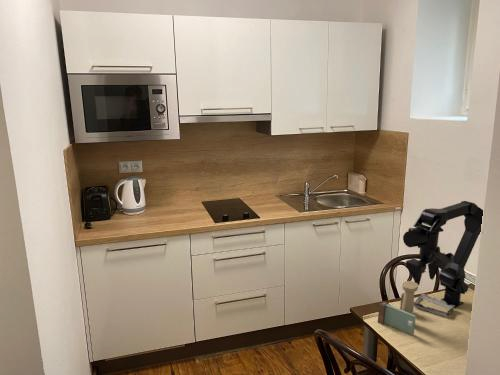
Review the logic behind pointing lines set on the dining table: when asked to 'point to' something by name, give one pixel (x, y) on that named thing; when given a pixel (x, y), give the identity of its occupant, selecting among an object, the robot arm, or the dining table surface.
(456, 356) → the dining table surface
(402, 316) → the door
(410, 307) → the handle
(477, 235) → the robot arm
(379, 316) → the door frame
